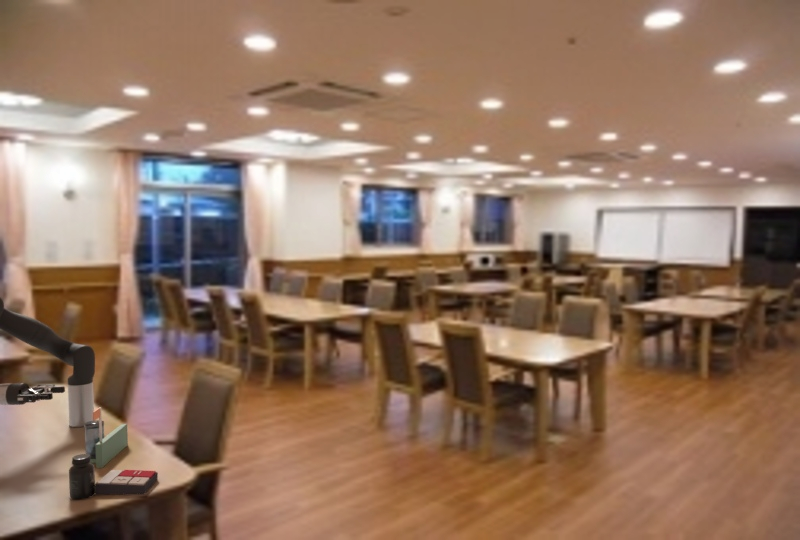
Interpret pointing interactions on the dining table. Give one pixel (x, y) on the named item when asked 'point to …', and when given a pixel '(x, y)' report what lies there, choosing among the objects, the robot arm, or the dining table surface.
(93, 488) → the supplement bottle
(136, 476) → the calculator
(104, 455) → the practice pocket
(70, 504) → the dining table surface
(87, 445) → the slate canister
